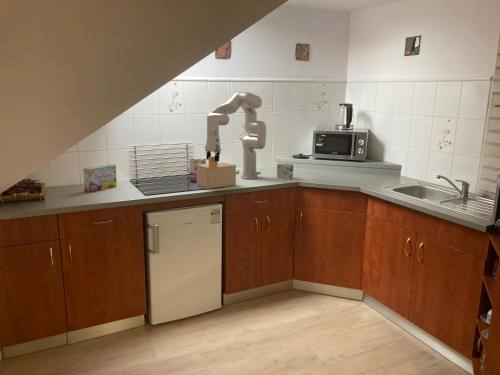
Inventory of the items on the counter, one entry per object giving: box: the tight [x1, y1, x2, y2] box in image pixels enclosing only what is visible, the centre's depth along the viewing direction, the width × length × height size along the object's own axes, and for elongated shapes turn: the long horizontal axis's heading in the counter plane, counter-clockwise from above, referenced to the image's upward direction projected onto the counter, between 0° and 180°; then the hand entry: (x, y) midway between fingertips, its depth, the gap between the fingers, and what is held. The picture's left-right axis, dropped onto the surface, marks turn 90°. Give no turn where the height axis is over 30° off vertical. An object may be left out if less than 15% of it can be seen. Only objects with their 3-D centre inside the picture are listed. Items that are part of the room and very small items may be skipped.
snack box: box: [82, 163, 117, 193], centre depth 268 cm, size 21×6×15 cm, turn 148°
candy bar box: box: [189, 157, 207, 183], centre depth 297 cm, size 11×5×16 cm, turn 62°
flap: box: [207, 156, 237, 190], centre depth 279 cm, size 22×2×21 cm, turn 128°
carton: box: [196, 161, 234, 190], centre depth 286 cm, size 22×14×14 cm, turn 128°
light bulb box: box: [276, 162, 294, 180], centre depth 315 cm, size 11×7×11 cm, turn 58°
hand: (212, 160), depth 273 cm, fingers open, 9 cm apart
